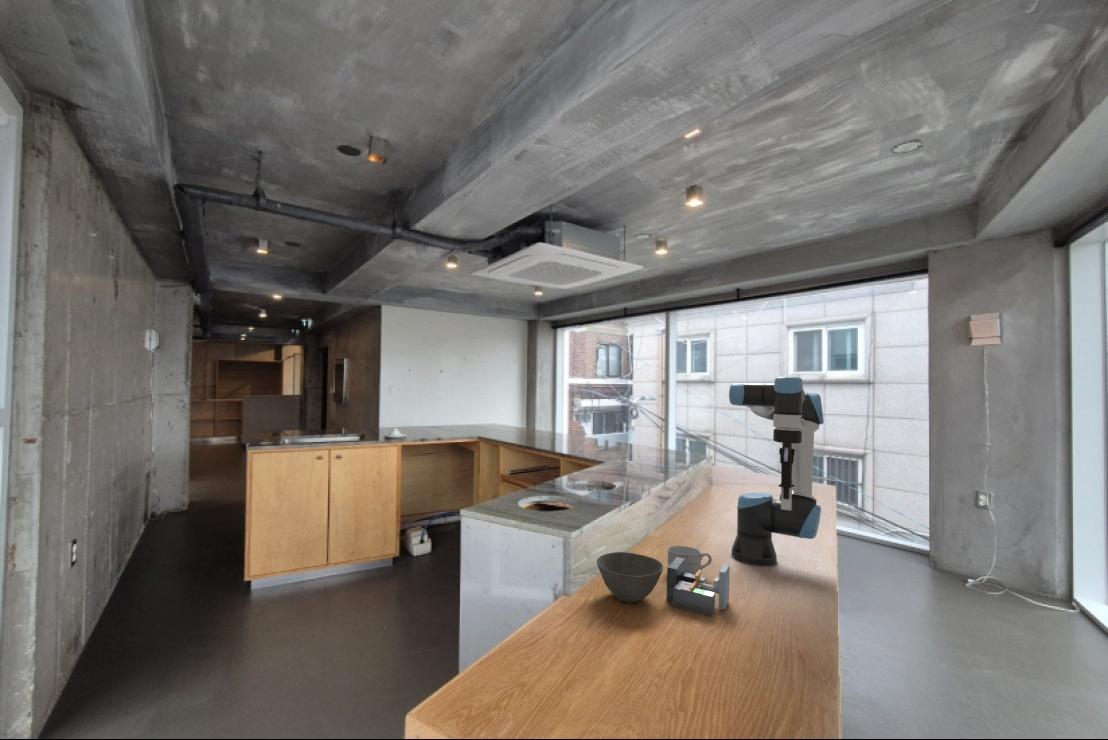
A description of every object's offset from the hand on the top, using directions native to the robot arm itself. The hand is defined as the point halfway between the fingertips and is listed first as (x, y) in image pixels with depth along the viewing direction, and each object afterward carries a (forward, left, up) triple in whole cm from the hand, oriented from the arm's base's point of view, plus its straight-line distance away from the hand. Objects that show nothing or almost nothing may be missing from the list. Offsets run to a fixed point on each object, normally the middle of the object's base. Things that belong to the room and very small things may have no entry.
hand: (786, 509), depth 137 cm
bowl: (+25, -38, -26) cm, 53 cm away
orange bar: (+18, -22, -21) cm, 35 cm away
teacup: (-2, -28, -26) cm, 39 cm away
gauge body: (+17, -22, -26) cm, 38 cm away
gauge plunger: (+15, -18, -26) cm, 34 cm away
